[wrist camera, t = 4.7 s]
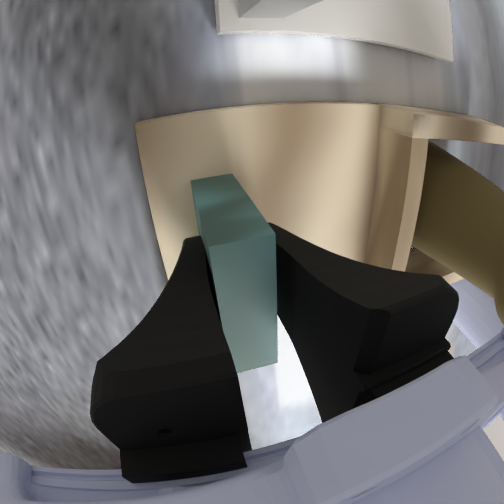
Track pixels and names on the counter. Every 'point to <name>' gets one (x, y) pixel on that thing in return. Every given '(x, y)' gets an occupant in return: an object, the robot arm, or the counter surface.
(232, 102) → the counter surface
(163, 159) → the cream slotted holder
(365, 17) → the cream base with post
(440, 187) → the cork
